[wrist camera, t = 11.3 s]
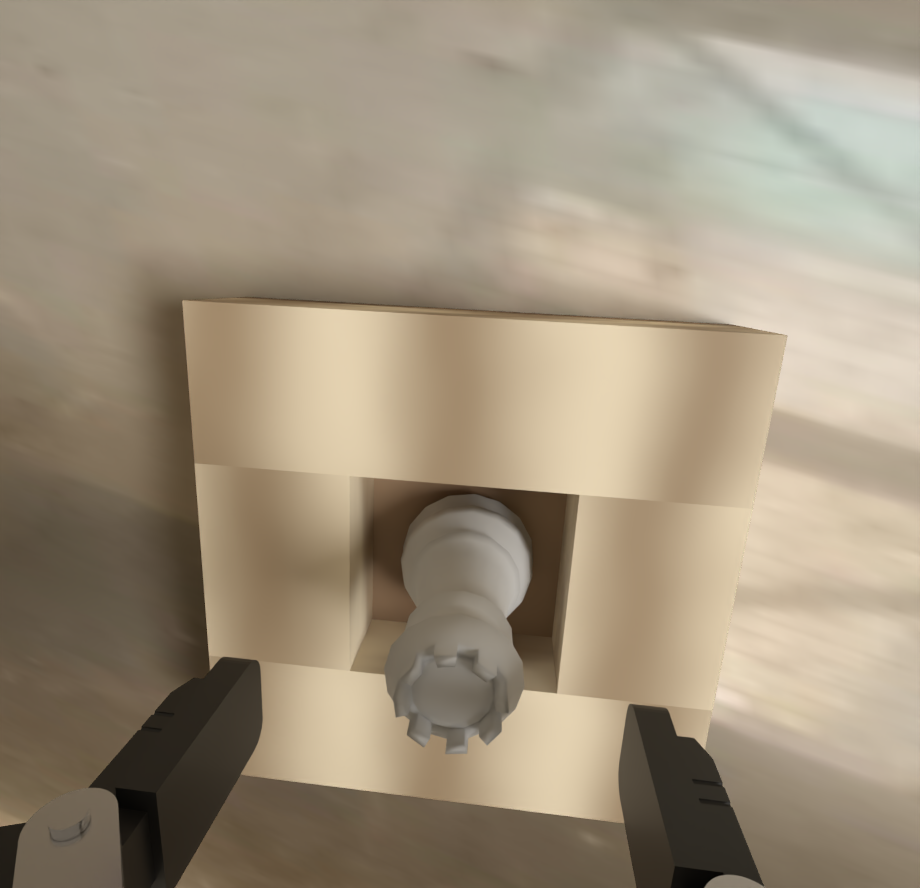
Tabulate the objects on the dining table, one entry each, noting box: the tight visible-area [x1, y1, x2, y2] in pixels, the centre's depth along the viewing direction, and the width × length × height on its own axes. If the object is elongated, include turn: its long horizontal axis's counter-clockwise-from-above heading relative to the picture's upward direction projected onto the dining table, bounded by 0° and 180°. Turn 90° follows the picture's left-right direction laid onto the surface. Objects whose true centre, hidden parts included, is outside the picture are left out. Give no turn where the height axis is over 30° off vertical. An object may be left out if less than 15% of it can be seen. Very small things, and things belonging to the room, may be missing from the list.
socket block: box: [182, 297, 787, 823], centre depth 19 cm, size 16×16×4 cm
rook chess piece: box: [384, 494, 533, 754], centre depth 16 cm, size 4×4×8 cm
